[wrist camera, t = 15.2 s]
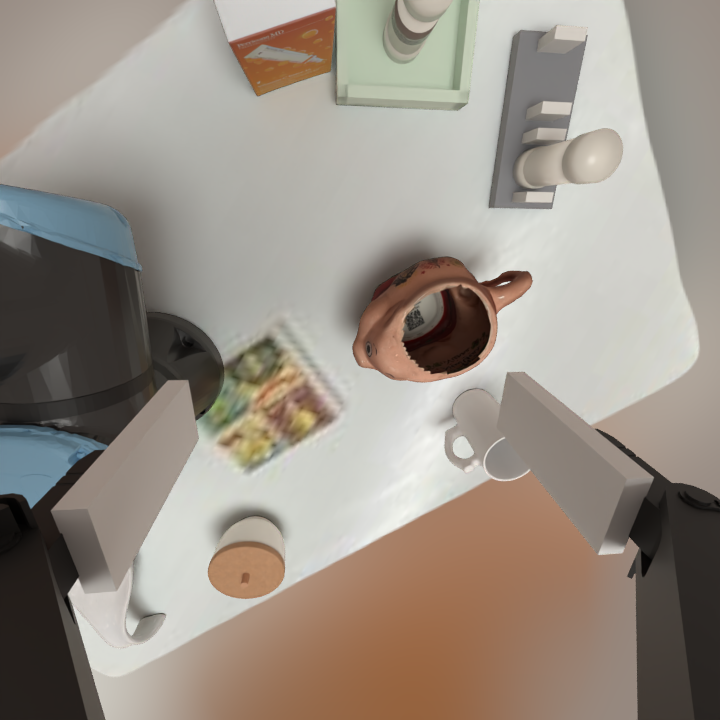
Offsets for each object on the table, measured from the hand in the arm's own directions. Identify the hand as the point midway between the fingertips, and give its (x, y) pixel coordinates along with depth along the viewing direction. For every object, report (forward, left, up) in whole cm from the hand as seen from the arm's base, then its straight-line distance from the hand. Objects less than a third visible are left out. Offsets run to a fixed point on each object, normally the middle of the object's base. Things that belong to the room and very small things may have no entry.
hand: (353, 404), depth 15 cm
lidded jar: (-13, -41, -32) cm, 54 cm away
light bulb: (+7, +23, -31) cm, 39 cm away
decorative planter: (+11, -3, -32) cm, 34 cm away
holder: (+22, +16, -32) cm, 42 cm away
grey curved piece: (-35, -49, -32) cm, 69 cm away
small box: (-5, +22, -32) cm, 39 cm away
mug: (+19, -20, -32) cm, 42 cm away
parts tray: (+7, +23, -32) cm, 40 cm away
